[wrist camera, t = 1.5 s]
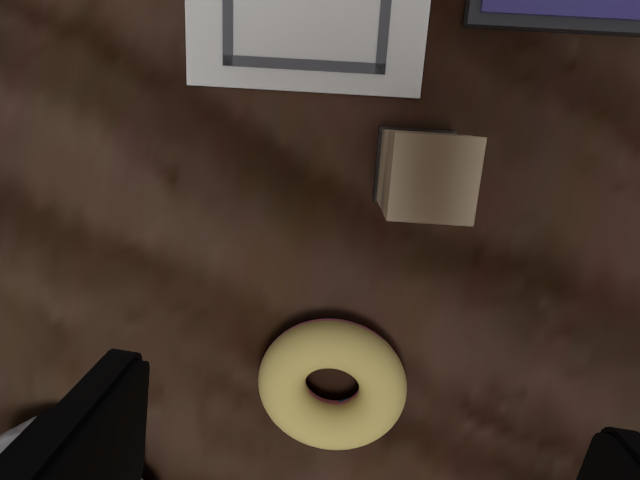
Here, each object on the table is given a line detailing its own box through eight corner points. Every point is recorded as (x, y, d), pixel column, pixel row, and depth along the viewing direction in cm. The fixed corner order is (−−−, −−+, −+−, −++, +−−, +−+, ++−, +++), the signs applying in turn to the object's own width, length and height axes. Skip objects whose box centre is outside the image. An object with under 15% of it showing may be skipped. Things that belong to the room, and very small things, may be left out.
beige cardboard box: (452, 130, 27) (490, 134, 20) (443, 203, 28) (476, 229, 22) (379, 126, 27) (392, 128, 20) (372, 198, 28) (383, 223, 22)
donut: (365, 420, 35) (420, 330, 32) (375, 474, 31) (439, 377, 28) (243, 390, 33) (286, 290, 30) (236, 443, 29) (285, 335, 25)
